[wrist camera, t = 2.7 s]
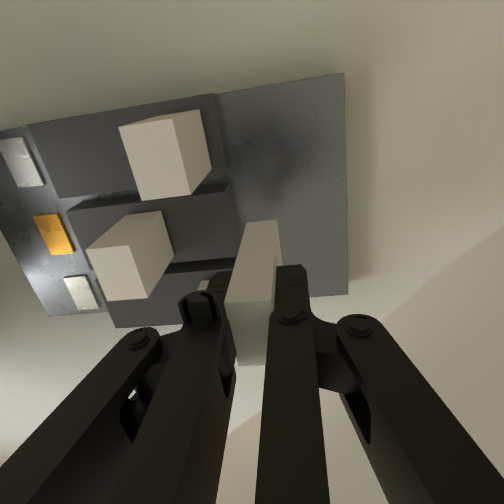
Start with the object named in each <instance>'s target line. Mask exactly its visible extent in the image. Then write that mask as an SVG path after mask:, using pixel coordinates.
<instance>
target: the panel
mask: <svg viewBox="0 0 504 504" xmlns="http://www.w3.org/2000/svg"><path fill="white" fill-rule="evenodd" d="M214 100H215V106H216V111H217V116H218V122H219V127H220V133H221V138H222V143H223V149H224V154H225V160H226V165H227V170H226V172H225V174H224V175H223V177H222V178H217V179H210V180H202V182H201V183H200V184H199V185H198V186H203V185H210V184H218V183H226V182H230V187H231V192H232V197H233V203H234V208H235V214H236V219H237V224H238V230H239V235H240V241H242V237H243V234H244V230H245V227H246V223H248V222H257V221H267V220H276V219H277V224H278V232H279V240H280V248H281V256H282V264H283V266H284V265H296V264H301V265H302V266H303V267H304V268H305V269H306V270H307V280H308V290H309V297H319V296H333V295H347V294H348V251H347V199H346V147H345V95H344V73H340V74H334V75H328V76H322V77H316V78H310V79H304V80H298V81H292V82H286V83H281V84H275V85H269V86H263V87H257V88H251V89H245V90H239V91H233V92H227V93H221V94H216V95H214ZM132 194H139V191H138V189H133V190H125V191H117V192H110V193H102V194H94V195H87V196H79V197H71V198H64V199H59V197H58V195H57V193H56V190H55V188H54V186H53V184H52V181H51V179H50V177H49V174H48V172H47V170H46V168H45V165H44V163H43V161H42V159H41V156H40V154H39V152H38V149H37V147H36V145H35V143H34V140H33V138H32V136H31V133H30V131H29V129H28V127H27V126H26V127H20V128H15V129H9V130H3V131H0V230H1V231H2V233H3V235H4V237H5V239H6V241H7V242H8V244H9V246H10V248H11V250H12V251H13V253H14V255H15V257H16V259H17V261H18V262H19V264H20V266H21V268H22V270H23V271H24V273H25V275H26V277H27V279H28V281H29V282H30V284H31V286H32V288H33V290H34V292H35V293H36V295H37V297H38V299H39V301H40V302H41V304H42V306H43V308H44V310H45V312H46V313H47V315H48V316H55V315H69V314H83V313H97V312H109V311H108V309H107V307H106V304H105V302H104V300H103V298H102V295H101V293H100V291H99V288H98V286H97V284H96V282H95V280H96V279H97V276H96V273H95V271H94V270H90V268H89V266H88V263H87V261H86V259H85V257H84V254H83V252H82V250H81V247H80V245H79V243H78V241H77V238H76V236H75V234H74V231H73V229H72V227H71V225H70V222H69V220H68V218H67V215H66V213H65V211H67V210H68V209H70V208H72V207H73V206H75V205H77V204H78V203H80V202H82V201H85V200H93V199H101V198H109V197H116V196H124V195H132Z"/></svg>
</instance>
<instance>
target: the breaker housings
mask: <svg viewBox="0 0 504 504" xmlns="http://www.w3.org/2000/svg"><path fill="white" fill-rule="evenodd" d="M27 127H28V129H29V131H30V133H31V136H32V138H33V140H34V143H35V145H36V147H37V149H38V152H39V154H40V156H41V159H42V161H43V163H44V165H45V168H46V170H47V172H48V174H49V177H50V179H51V181H52V184H53V186H54V188H55V190H56V193H57V195H58V197H59V199H64V198H71V197H79V196H87V195H94V194H102V193H110V192H117V191H125V190H133V189H138V191H139V194H132V195H124V196H116V197H109V198H101V199H93V200H85V201H82V202H80V203H78V204H77V205H75V206H73V207H72V208H70V209H68V210H67V211H65V213H66V215H67V218H68V220H69V222H70V225H71V227H72V229H73V231H74V234H75V236H76V238H77V241H78V243H79V245H80V247H81V250H82V252H83V254H84V257H85V259H86V261H87V263H88V266H89V268H90V270H94V269H93V267H92V264H91V262H90V260H89V257H88V255H87V253H86V249H87V248H88V247H89V246H90V245H91V244H93V243H94V242H95V241H96V240H97V239H98V238H100V237H101V236H102V235H103V234H104V233H105V232H107V231H108V230H109V229H110V228H111V227H112V226H114V225H115V224H116V223H117V222H118V221H119V220H121V219H122V218H123V217H124V216H125V215H130V214H138V213H146V212H155V211H161V213H162V216H163V219H164V223H165V226H166V230H167V233H168V236H169V240H170V243H171V246H172V250H173V253H174V257H173V258H172V260H171V262H170V263H169V265H168V266H167V268H166V270H165V271H164V273H163V274H162V276H161V278H160V279H159V281H158V282H157V284H156V286H155V287H154V289H153V290H152V292H151V294H150V295H149V297H148V298H143V299H130V300H118V301H107V299H106V297H105V294H104V292H103V290H102V287H101V285H100V283H99V280H98V278H97V279H96V280H95V282H96V284H97V286H98V288H99V291H100V293H101V295H102V298H103V300H104V302H105V304H106V307H107V309H108V311H109V314H110V316H111V318H112V320H113V323H114V325H115V327H116V328H130V327H145V326H161V325H177V324H184V323H183V320H182V317H181V314H180V310H179V307H178V304H177V303H178V302H179V300H180V299H181V298H182V297H184V296H185V295H187V294H189V293H191V292H194V291H199V290H206V288H207V285H208V283H209V280H210V278H211V277H212V276H213V275H215V274H216V273H217V272H221V271H233V269H234V266H235V262H236V259H237V255H238V251H239V248H240V244H241V241H240V235H239V230H238V224H237V219H236V214H235V208H234V203H233V197H232V192H231V187H230V182H226V183H218V184H210V185H203V186H198V185H199V184H200V183H201V182H202V180H210V179H217V178H222V177H223V175H224V174H225V172H226V170H227V165H226V160H225V154H224V149H223V143H222V138H221V133H220V127H219V122H218V116H217V111H216V106H215V100H214V95H213V93H210V94H205V95H199V96H193V97H187V98H181V99H175V100H169V101H163V102H158V103H152V104H146V105H140V106H134V107H128V108H122V109H116V110H110V111H105V112H99V113H93V114H87V115H81V116H75V117H69V118H63V119H58V120H52V121H46V122H40V123H34V124H29V125H27Z"/></svg>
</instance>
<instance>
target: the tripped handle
mask: <svg viewBox="0 0 504 504" xmlns="http://www.w3.org/2000/svg"><path fill="white" fill-rule="evenodd" d="M86 253H87V255H88V257H89V260H90V262H91V264H92V267H93V269H94V271H95V273H96V276H97V278H98V280H99V283H100V285H101V287H102V290H103V292H104V294H105V297H106V299H107V301H118V300H130V299H143V298H148V297H149V295H150V294H151V292H152V290H153V289H154V287H155V286H156V284H157V282H158V281H159V279H160V278H161V276H162V274H163V273H164V271H165V270H166V268H167V266H168V265H169V263H170V262H171V260H172V258H173V257H174V253H173V250H172V246H171V243H170V240H169V236H168V233H167V230H166V226H165V223H164V219H163V216H162V213H161V211H155V212H146V213H138V214H130V215H125V216H124V217H123V218H122V219H121V220H119V221H118V222H117V223H116V224H115V225H114V226H112V227H111V228H110V229H109V230H108V231H107V232H105V233H104V234H103V235H102V236H101V237H100V238H98V239H97V240H96V241H95V242H94V243H93V244H91V245H90V246H89V247H88V248H87V249H86Z"/></svg>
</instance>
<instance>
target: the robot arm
mask: <svg viewBox="0 0 504 504" xmlns="http://www.w3.org/2000/svg"><path fill="white" fill-rule="evenodd" d="M177 304H178V307H179V310H180V314H181V317H182V320H183V323H184V324H183V326H182V328H181V330H179V331H176V332H173V333H169V334H166V335H162V336H160V335H159V333H158V331H157V330H156V329H154V328H151V327H143V328H139V329H136V330H134V331H132V332H130V333H128V334H127V335H125V336H124V337H123V338H122V339H121V340H120V341H119V342H118V343H117V344H116V345H115V346H114V347H113V348H112V349H111V350H110V351H109V353H108V354H107V355H106V356H105V357H104V358H103V359H102V360H101V361H100V362H99V363H98V364H97V365H96V366H95V367H94V368H93V370H92V371H91V372H90V373H89V374H88V375H87V376H86V377H85V378H84V379H83V380H82V381H81V382H80V383H79V384H78V385H77V386H76V388H75V389H74V390H73V391H72V392H71V393H70V394H69V395H68V396H67V397H66V398H65V399H64V400H63V401H62V402H61V403H60V404H59V406H58V407H57V408H56V409H55V410H54V411H53V412H52V413H51V414H50V415H49V416H48V417H47V418H46V419H45V420H44V421H43V423H42V424H41V425H40V426H39V427H38V428H37V429H36V430H35V431H34V432H33V433H32V434H31V435H30V436H29V437H28V438H27V439H26V441H25V442H24V443H23V444H22V445H21V446H20V447H19V448H18V449H17V450H16V451H15V452H14V453H13V454H12V455H11V456H10V458H9V459H8V460H7V461H6V462H5V463H4V464H3V465H2V466H1V467H0V504H215V503H216V497H217V491H218V485H219V479H220V473H221V467H222V461H223V455H224V449H225V443H226V437H227V431H228V425H229V419H230V413H231V407H232V401H233V395H234V389H235V383H236V371H235V367H234V364H235V358H236V357H237V362H238V366H249V365H266V366H265V379H264V391H263V404H262V418H261V430H260V443H259V455H258V468H257V480H256V493H255V504H330V498H329V487H328V478H327V467H326V457H325V447H324V437H323V427H322V417H321V407H320V397H319V388H323V389H327V390H331V391H334V392H338V393H339V395H340V398H341V400H342V402H343V405H344V407H345V409H346V411H347V413H348V416H349V418H350V420H351V422H352V424H353V426H354V428H355V431H356V433H357V435H358V437H359V440H360V442H361V444H362V446H363V448H364V450H365V452H366V455H367V457H368V459H369V461H370V464H371V466H372V468H373V470H374V472H375V474H376V477H377V479H378V481H379V483H380V485H381V488H382V489H383V492H384V494H385V496H386V498H387V501H388V503H389V504H504V478H503V477H502V476H501V474H500V473H499V472H498V471H497V469H496V468H495V467H494V466H493V464H492V463H491V462H490V461H489V459H488V458H487V457H486V455H485V454H484V453H483V452H482V450H481V449H480V448H479V447H478V445H477V444H476V443H475V442H474V440H473V439H472V438H471V436H470V435H469V434H468V433H467V431H466V430H465V429H464V428H463V427H462V425H461V424H460V423H459V421H458V420H457V419H456V417H455V416H454V415H453V414H452V412H451V411H450V410H449V408H448V407H447V406H446V405H445V404H444V402H443V401H442V400H441V398H440V397H439V396H438V395H437V393H436V392H435V391H434V389H433V388H432V387H431V386H430V384H429V383H428V382H427V381H426V379H425V378H424V377H423V376H422V374H421V373H420V372H419V370H418V369H417V368H416V367H415V365H414V364H413V363H412V362H411V360H410V359H409V358H408V357H407V355H406V354H405V353H404V351H403V350H402V349H401V348H400V346H399V345H398V344H397V343H396V341H395V340H394V339H393V337H392V336H391V335H390V334H389V332H388V331H387V330H386V329H385V327H384V326H383V325H382V324H381V323H380V322H379V321H378V320H377V319H375V318H373V317H371V316H368V315H363V314H351V315H348V316H345V317H343V318H341V319H340V320H339V321H338V322H337V324H334V323H329V322H325V321H323V320H320V319H318V318H317V317H316V316H314V314H313V313H312V312H311V308H310V299H309V290H308V280H307V270H306V269H305V268H304V267H303V266H302V265H301V264H296V265H284V266H283V264H282V256H281V248H280V240H279V232H278V224H277V219H276V220H267V221H257V222H248V223H246V227H245V230H244V234H243V237H242V241H241V244H240V248H239V251H238V255H237V259H236V262H235V266H234V269H233V271H221V272H217V273H216V274H215V275H213V276H212V277H211V278H210V280H209V283H208V285H207V288H206V290H199V291H194V292H191V293H189V294H187V295H185V296H184V297H182V298H181V299H180V300H179V302H178V303H177ZM134 389H135V391H136V393H135V394H134V396H133V397H131V398H130V399H129V398H128V397H129V395H130V394H131V393H132V391H133V390H134Z"/></svg>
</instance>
